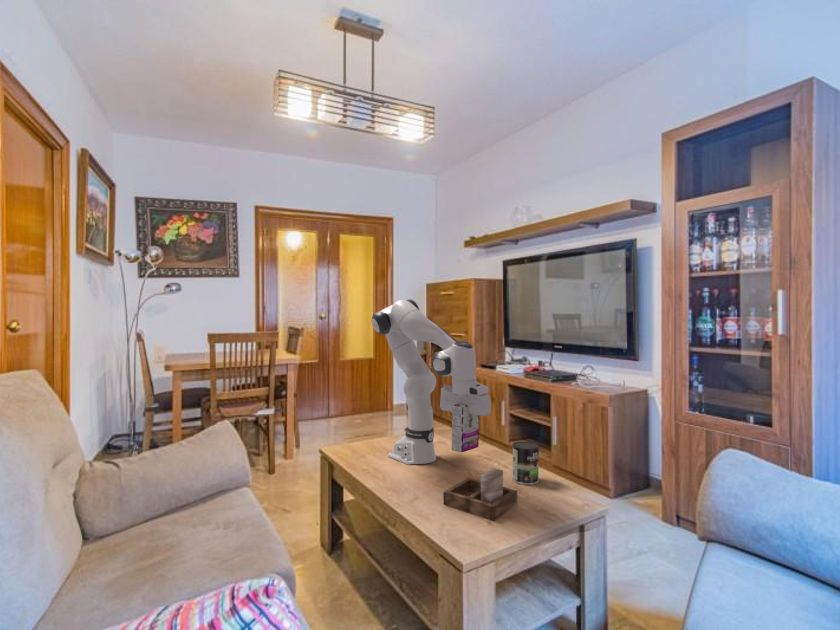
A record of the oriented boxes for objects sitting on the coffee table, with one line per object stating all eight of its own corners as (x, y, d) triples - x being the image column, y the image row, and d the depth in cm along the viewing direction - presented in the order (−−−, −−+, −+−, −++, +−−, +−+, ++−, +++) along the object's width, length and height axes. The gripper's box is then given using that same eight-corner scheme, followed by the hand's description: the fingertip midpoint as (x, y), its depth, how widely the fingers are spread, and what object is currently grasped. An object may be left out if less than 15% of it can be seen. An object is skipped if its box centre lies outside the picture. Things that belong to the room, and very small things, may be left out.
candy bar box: (467, 445, 175) (468, 401, 176) (478, 447, 172) (480, 402, 172) (450, 450, 166) (451, 404, 167) (462, 452, 163) (463, 405, 164)
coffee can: (544, 481, 184) (544, 445, 183) (526, 487, 178) (526, 450, 177) (524, 473, 192) (524, 439, 192) (506, 478, 186) (506, 444, 186)
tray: (443, 504, 162) (443, 470, 162) (468, 489, 176) (468, 457, 175) (494, 520, 150) (494, 484, 150) (516, 503, 163) (517, 469, 163)
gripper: (436, 386, 173) (437, 423, 173) (483, 391, 160) (484, 431, 160) (445, 383, 178) (446, 419, 178) (492, 388, 165) (493, 426, 165)
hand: (465, 425), depth 169 cm, fingers closed on candy bar box, 5 cm apart
